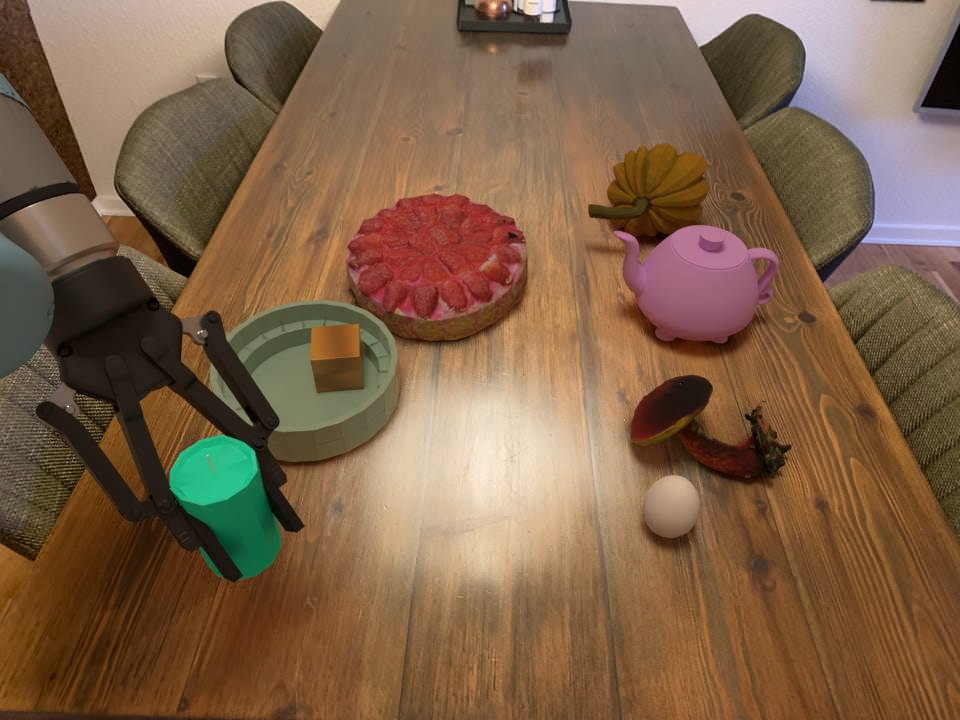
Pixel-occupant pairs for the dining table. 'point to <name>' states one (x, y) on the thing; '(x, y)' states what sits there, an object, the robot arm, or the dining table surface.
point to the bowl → (290, 383)
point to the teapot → (698, 283)
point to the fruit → (655, 191)
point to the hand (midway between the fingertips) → (265, 551)
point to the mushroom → (676, 413)
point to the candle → (228, 501)
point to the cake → (437, 266)
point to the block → (337, 358)
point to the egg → (671, 506)
